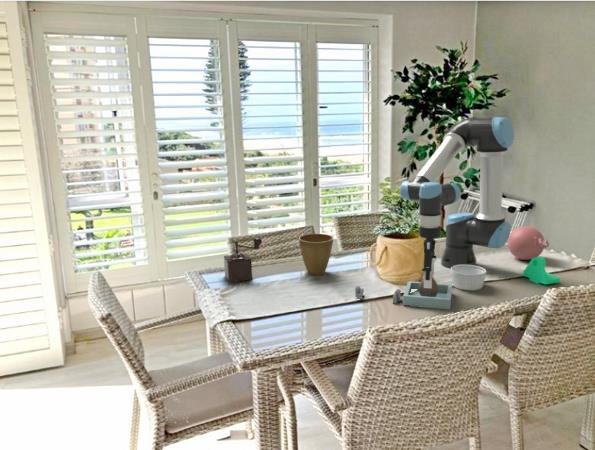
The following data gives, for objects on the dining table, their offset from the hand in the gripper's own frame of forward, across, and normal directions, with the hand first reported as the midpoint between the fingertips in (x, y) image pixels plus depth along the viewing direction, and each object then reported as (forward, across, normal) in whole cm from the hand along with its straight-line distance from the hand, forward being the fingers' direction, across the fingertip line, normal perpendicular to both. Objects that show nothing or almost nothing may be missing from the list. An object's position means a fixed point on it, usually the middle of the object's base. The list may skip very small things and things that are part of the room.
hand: (429, 281), depth 188 cm
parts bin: (+7, 0, 0) cm, 7 cm away
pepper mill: (+6, -8, -78) cm, 79 cm away
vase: (+6, +1, 0) cm, 6 cm away
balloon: (+8, -58, +40) cm, 70 cm away
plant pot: (+7, -20, -49) cm, 54 cm away
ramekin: (+7, -18, +14) cm, 23 cm away
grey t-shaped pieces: (+7, +4, -18) cm, 20 cm away
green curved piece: (+8, -30, +42) cm, 52 cm away
